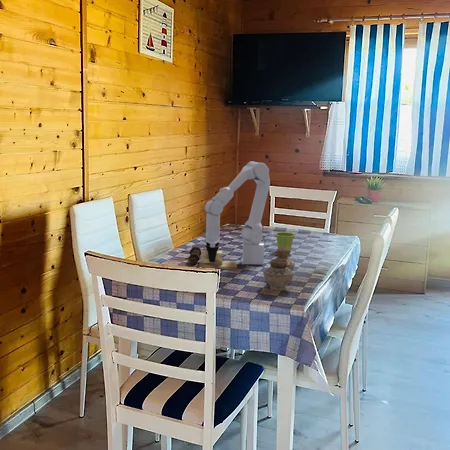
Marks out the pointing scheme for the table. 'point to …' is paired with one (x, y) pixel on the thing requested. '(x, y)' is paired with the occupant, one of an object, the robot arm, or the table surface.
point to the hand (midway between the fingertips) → (211, 260)
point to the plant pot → (285, 240)
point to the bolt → (194, 255)
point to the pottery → (279, 270)
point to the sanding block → (206, 258)
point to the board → (224, 265)
